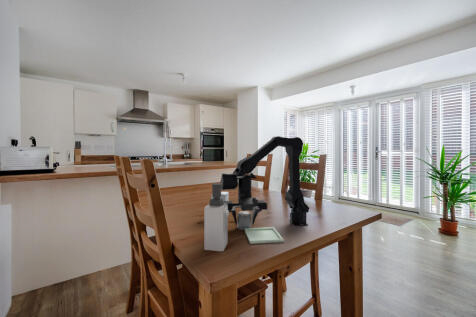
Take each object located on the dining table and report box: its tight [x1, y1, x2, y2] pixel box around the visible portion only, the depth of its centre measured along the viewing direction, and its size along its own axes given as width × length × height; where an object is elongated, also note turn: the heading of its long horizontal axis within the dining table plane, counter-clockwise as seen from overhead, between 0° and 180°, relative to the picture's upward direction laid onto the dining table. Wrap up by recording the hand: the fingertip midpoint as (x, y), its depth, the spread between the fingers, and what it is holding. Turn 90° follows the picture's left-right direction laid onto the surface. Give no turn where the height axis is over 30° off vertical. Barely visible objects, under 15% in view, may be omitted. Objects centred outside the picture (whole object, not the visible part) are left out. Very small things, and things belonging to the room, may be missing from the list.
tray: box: [244, 226, 285, 245], centre depth 84 cm, size 13×13×1 cm
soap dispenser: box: [203, 182, 229, 252], centre depth 75 cm, size 6×9×22 cm
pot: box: [236, 210, 252, 231], centre depth 93 cm, size 6×6×7 cm
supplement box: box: [210, 191, 230, 215], centre depth 106 cm, size 7×7×13 cm
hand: (244, 224), depth 92 cm, fingers open, 7 cm apart
